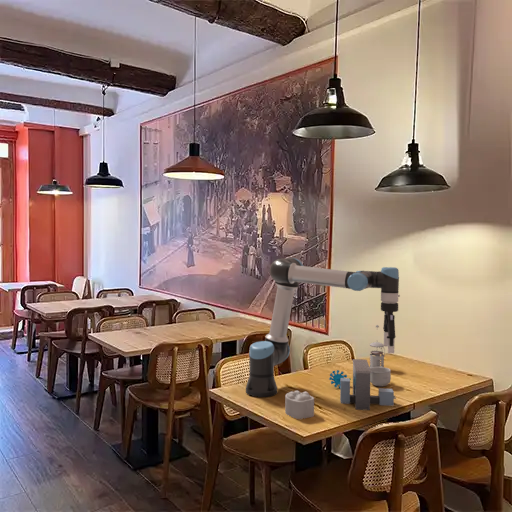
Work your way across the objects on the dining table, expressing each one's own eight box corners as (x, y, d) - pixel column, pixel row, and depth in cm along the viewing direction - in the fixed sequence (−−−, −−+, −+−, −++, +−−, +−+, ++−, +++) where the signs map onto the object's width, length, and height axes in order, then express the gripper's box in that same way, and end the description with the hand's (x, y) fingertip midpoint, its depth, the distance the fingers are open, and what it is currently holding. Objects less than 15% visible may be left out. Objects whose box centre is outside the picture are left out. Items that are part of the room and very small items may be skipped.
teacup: (386, 389, 241) (386, 373, 241) (365, 385, 247) (365, 370, 247) (395, 382, 253) (395, 367, 253) (374, 379, 259) (374, 364, 259)
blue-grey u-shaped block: (340, 403, 221) (340, 381, 220) (340, 399, 225) (340, 378, 225) (396, 405, 217) (396, 383, 217) (394, 402, 222) (395, 380, 222)
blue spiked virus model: (331, 386, 240) (328, 368, 247) (327, 392, 245) (325, 374, 251) (352, 388, 242) (349, 370, 249) (348, 394, 246) (346, 376, 253)
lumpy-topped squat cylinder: (296, 420, 200) (297, 399, 200) (279, 410, 211) (279, 390, 211) (317, 415, 205) (317, 395, 205) (299, 406, 216) (299, 387, 216)
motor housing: (355, 409, 212) (355, 370, 212) (352, 394, 232) (352, 359, 232) (370, 410, 211) (370, 371, 211) (366, 395, 232) (366, 359, 231)
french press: (364, 369, 279) (364, 325, 278) (376, 365, 287) (376, 322, 286) (379, 372, 272) (379, 327, 271) (390, 368, 280) (391, 324, 279)
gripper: (402, 306, 206) (402, 356, 207) (394, 298, 231) (393, 344, 231) (384, 305, 207) (383, 355, 208) (377, 298, 232) (376, 343, 232)
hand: (388, 349), depth 220 cm, fingers open, 13 cm apart
